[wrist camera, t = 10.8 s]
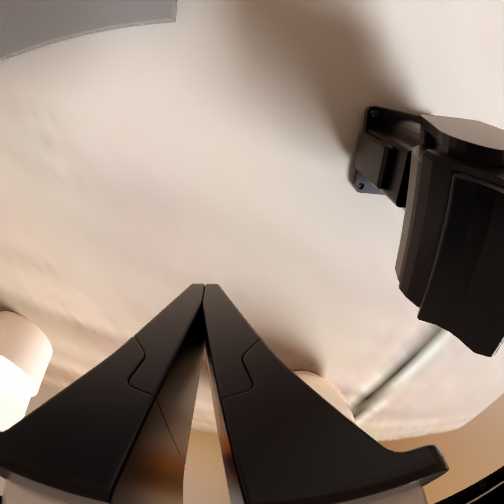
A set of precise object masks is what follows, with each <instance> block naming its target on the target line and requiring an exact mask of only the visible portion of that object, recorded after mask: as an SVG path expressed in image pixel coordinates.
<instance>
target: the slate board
mask: <svg viewBox="0 0 504 504" xmlns="http://www.w3.org/2000/svg"><path fill="white" fill-rule="evenodd" d="M176 8H177V0H0V61H2V60H4V59H7V58H9V57H12V56H15V55H17V54H20V53H23V52H26V51H29V50H32V49H35V48H38V47H41V46H44V45H48V44H51V43H54V42H58V41H62V40H65V39H69V38H73V37H77V36H82V35H86V34H91V33H95V32H100V31H106V30H111V29H117V28H124V27H130V26H138V25H146V24H155V23H167V22H176Z"/></svg>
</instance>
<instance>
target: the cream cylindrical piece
mask: <svg viewBox="0 0 504 504" xmlns="http://www.w3.org/2000/svg"><path fill="white" fill-rule="evenodd" d="M51 355H52V346H51V344H50V342H49V340H48V339H47V337H46V336H45V335H44V333H43V332H42V331H41V330H40V329H39V328H38V327H37V326H35V325H34V324H33V323H32V322H30V321H29V320H27V319H26V318H24V317H23V316H21V315H19V314H16V313H14V312H10V311H1V312H0V431H2V432H3V431H5V430H7V429H9V428H10V427H11V426H13V425H14V424H16V423H17V422H18V421H20V420H21V419H23V418H24V415H25V412H26V409H27V406H28V403H29V400H30V398H31V397H32V396H35V395H37V392H38V390H39V387H40V384H41V381H42V379H43V376H44V373H45V371H46V368H47V366H48V363H49V361H50V358H51Z"/></svg>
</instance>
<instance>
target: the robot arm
mask: <svg viewBox="0 0 504 504" xmlns="http://www.w3.org/2000/svg"><path fill="white" fill-rule="evenodd" d="M372 110H374V111H375V114H374V115H373V116H372V115H371V111H372ZM354 167H355V168H356V171H355V177H354V182H353V187H354V189H355V190H356V191H357V192H360V193H371V194H381V195H386V196H387V197H388V198H389V199H390V200H391V201H392V202H393V203H394V204H395V205H396V206H397V207H402V208H403V209H404V210H405V215H404V221H403V228H402V234H401V239H400V245H399V250H398V255H397V261H396V266H395V270H396V274H397V277H398V280H399V282H400V283H399V289H400V290H401V291H402V293H403V294H404V295H405V296H406V297H407V298H408V299H409V300H410V301H411V302H413V303H414V304H415V305H416V306H417V307H419V308H420V309H419V312H418V315H417V318H418V319H419V320H422V321H425V322H428V323H432V324H435V325H437V326H439V327H441V328H443V329H445V330H447V331H449V332H451V333H452V334H453V335H454V336H456V337H457V338H458V339H459V340H461V341H462V342H463V343H464V344H465V345H466V346H467V347H468V348H470V349H471V350H472V351H473V352H474V353H477V354H480V355H484V356H487V357H492V356H494V355H495V354H496V352H497V351H498V349H499V347H500V346H501V344H502V343H503V341H504V130H502V129H499V128H497V127H494V126H491V125H488V124H485V123H482V122H479V121H475V120H468V119H461V118H453V117H444V116H434V115H423V114H420V116H416V115H413V114H409V113H404V112H400V111H396V110H391V109H387V108H382V107H377V106H368V107H367V108H366V111H365V117H364V124H363V130H362V132H361V133H360V134H359V139H358V145H357V151H356V157H355V162H354ZM360 183H362V186H361V187H358V185H359V184H360ZM204 348H205V349H206V357H207V365H208V372H209V379H210V386H211V393H212V399H213V406H214V412H215V418H216V424H217V430H218V436H219V442H220V447H221V453H222V458H223V463H224V468H225V474H226V479H227V485H228V490H229V495H230V501H231V504H428V503H427V499H426V496H425V492H424V489H423V486H424V485H426V484H428V483H430V482H431V481H433V480H435V479H437V478H438V477H440V476H442V475H443V474H445V473H446V472H447V471H448V470H449V467H448V465H447V462H446V459H445V457H444V456H443V454H442V452H441V450H440V449H439V447H438V446H437V445H426V446H422V447H419V448H416V449H413V450H410V451H405V452H394V451H391V450H388V449H387V448H385V447H383V446H382V445H381V444H379V443H378V442H377V441H376V440H374V439H373V438H372V437H371V436H369V435H368V434H367V433H365V432H364V431H363V430H362V429H360V428H359V427H358V426H357V425H355V424H354V423H353V422H352V421H351V420H349V419H348V418H347V417H346V416H344V415H343V414H342V413H341V412H340V411H338V410H337V409H336V408H335V407H334V406H332V405H331V404H330V403H329V402H328V401H326V400H325V399H324V398H323V397H322V396H321V395H319V394H318V393H317V392H316V391H315V390H314V389H312V388H311V387H310V386H309V385H308V384H307V383H305V382H304V381H303V380H302V379H301V378H300V377H299V376H297V375H296V374H295V373H294V372H293V371H292V370H291V369H289V368H288V367H287V366H286V365H285V364H284V363H283V362H282V361H281V360H280V359H279V358H278V357H277V356H276V355H275V354H274V353H273V352H272V350H271V349H270V348H269V347H268V346H267V345H266V343H265V342H264V341H263V340H261V338H260V336H259V335H258V334H257V333H256V332H255V330H254V329H253V328H252V327H251V325H250V324H249V323H248V322H247V320H246V319H245V318H244V317H243V315H242V314H241V313H240V312H239V310H238V309H237V308H236V306H235V305H234V304H233V303H232V301H231V300H230V299H229V298H228V296H227V295H226V294H225V292H224V291H223V290H222V289H221V287H220V286H219V285H218V284H206V285H204V284H192V285H190V286H189V287H188V288H187V289H186V290H185V291H184V292H182V293H181V294H180V295H179V296H178V297H177V298H176V299H175V300H173V301H172V302H171V303H170V304H169V305H168V306H167V307H166V308H164V309H163V310H162V311H161V312H160V313H159V314H158V315H157V316H155V317H154V318H153V319H152V320H151V321H150V322H149V323H148V324H147V325H145V326H144V327H143V328H142V329H141V330H140V331H139V332H138V333H137V334H135V335H134V337H132V338H130V339H129V340H128V341H127V342H126V343H125V344H124V345H122V346H121V347H120V348H119V349H118V350H117V351H115V352H114V353H113V354H112V355H110V356H109V357H108V358H106V359H105V360H104V361H102V362H101V363H100V364H98V365H97V366H96V367H94V368H93V369H91V370H90V371H89V372H87V373H86V374H84V375H83V376H82V377H80V378H79V379H77V380H76V381H75V382H73V383H72V384H70V385H69V386H68V387H66V388H65V389H63V390H62V391H61V392H59V393H58V394H56V395H55V396H54V397H52V398H51V399H49V400H48V401H47V402H45V403H44V404H42V405H41V406H40V407H38V408H37V409H35V410H34V411H33V412H31V413H30V414H29V415H27V416H25V417H24V418H23V419H21V420H20V421H18V422H17V423H16V424H14V425H13V426H11V427H10V428H9V429H7V430H5V431H3V432H0V476H1V477H3V478H5V485H4V489H3V495H2V496H0V504H183V476H184V468H185V461H186V455H187V449H188V442H189V436H190V430H191V424H192V418H193V412H194V406H195V400H196V394H197V388H198V383H199V377H200V371H201V366H202V360H203V354H204ZM435 504H504V466H503V467H501V468H500V469H498V470H497V471H495V472H493V473H492V474H490V475H489V476H487V477H485V478H484V479H482V480H480V481H478V482H477V483H475V484H473V485H471V486H469V487H468V488H466V489H464V490H462V491H460V492H458V493H456V494H454V495H452V496H450V497H448V498H446V499H444V500H441V501H439V502H437V503H435Z"/></svg>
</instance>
